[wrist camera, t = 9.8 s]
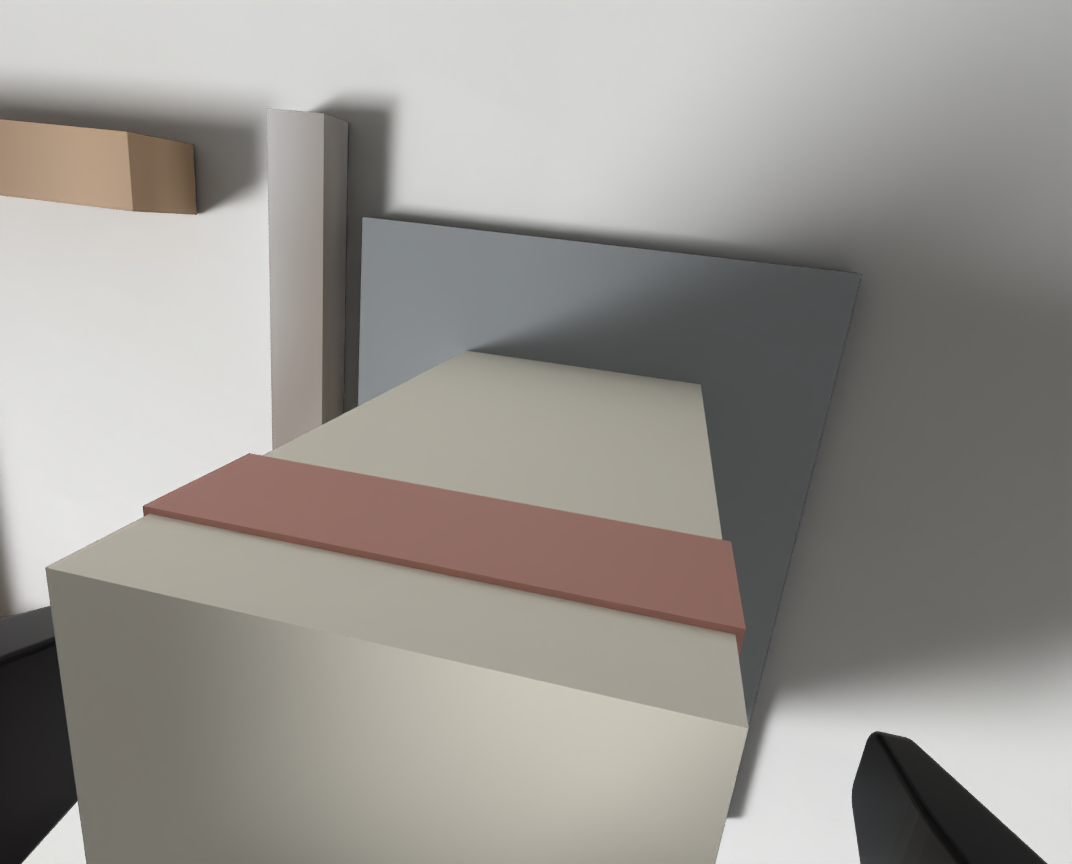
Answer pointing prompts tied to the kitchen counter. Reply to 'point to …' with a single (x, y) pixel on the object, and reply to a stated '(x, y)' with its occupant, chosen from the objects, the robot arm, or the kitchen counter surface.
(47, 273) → the kitchen counter surface
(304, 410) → the cradle
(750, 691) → the mat
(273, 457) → the block
